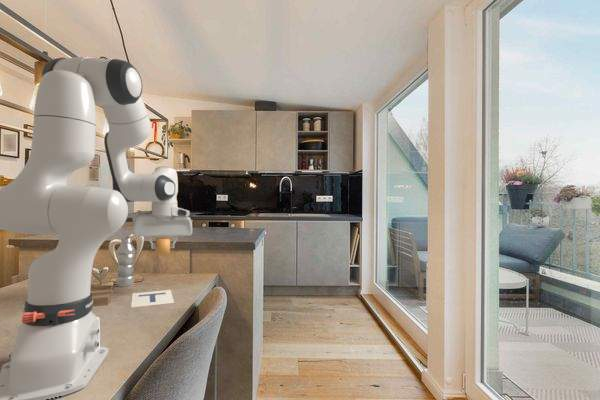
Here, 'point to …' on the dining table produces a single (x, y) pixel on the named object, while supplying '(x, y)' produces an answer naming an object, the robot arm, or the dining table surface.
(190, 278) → the dining table surface
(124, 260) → the plastic bottle
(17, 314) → the dining table surface
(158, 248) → the orange cylinder
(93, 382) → the dining table surface
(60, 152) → the robot arm
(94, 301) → the walnut block
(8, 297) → the dining table surface
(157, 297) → the letter card
